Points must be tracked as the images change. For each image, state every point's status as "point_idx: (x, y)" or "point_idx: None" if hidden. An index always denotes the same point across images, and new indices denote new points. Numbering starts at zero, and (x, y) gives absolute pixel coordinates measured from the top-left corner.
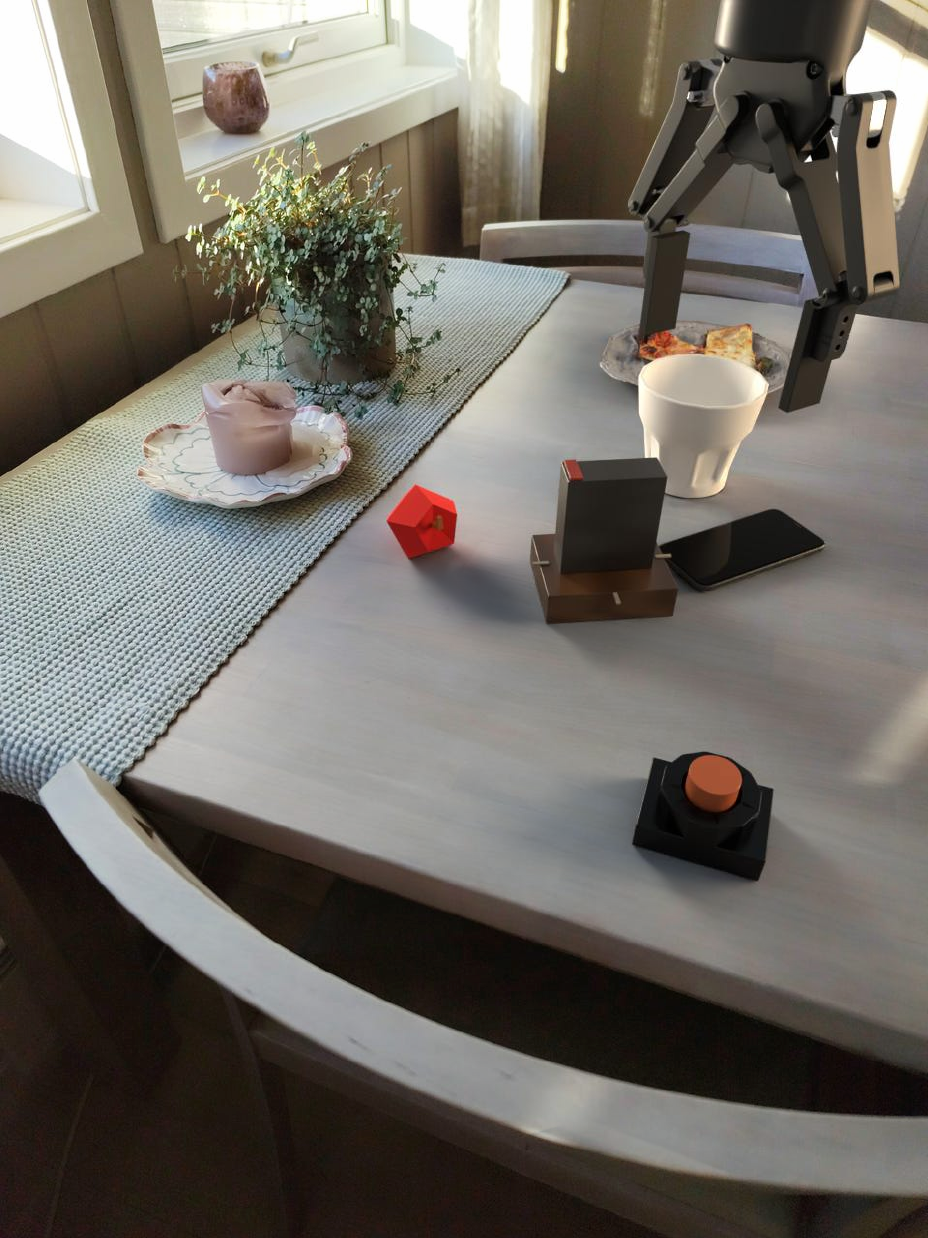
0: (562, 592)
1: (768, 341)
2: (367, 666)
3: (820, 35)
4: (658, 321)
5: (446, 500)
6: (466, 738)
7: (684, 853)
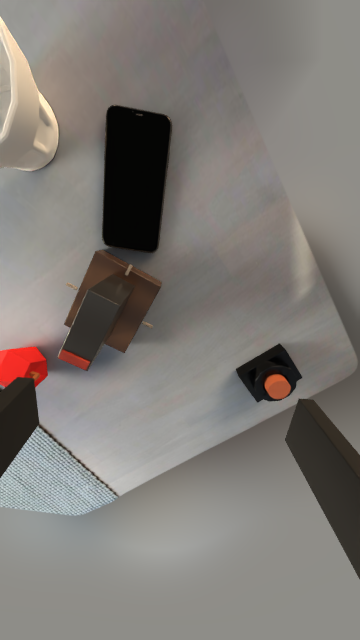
0: (125, 344)
1: None
2: (110, 421)
3: None
4: (27, 418)
5: (10, 358)
6: (172, 411)
7: None
